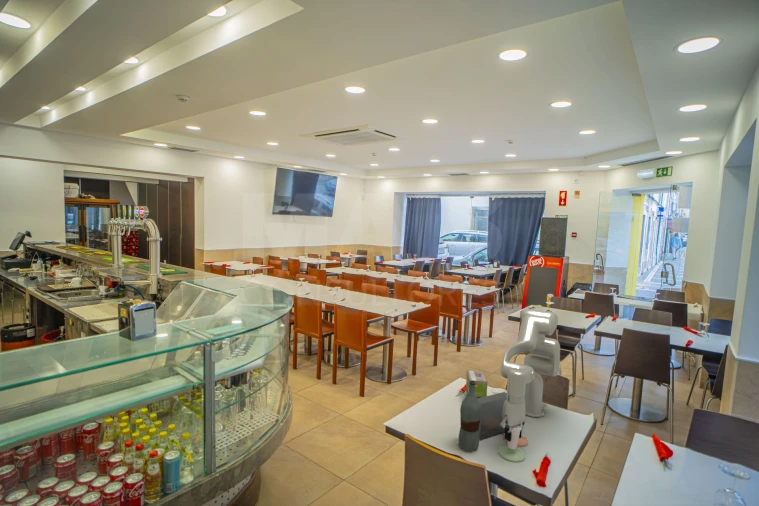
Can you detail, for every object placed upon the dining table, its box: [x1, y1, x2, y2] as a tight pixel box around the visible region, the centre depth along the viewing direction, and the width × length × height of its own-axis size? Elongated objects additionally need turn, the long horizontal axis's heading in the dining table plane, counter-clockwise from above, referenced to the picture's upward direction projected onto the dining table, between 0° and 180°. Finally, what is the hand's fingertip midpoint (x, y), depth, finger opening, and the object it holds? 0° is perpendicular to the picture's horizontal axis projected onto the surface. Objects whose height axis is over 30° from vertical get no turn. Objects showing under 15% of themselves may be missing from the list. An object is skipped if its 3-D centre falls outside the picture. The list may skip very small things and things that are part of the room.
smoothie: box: [507, 424, 521, 449], centre depth 173 cm, size 6×6×14 cm
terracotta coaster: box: [502, 434, 529, 448], centre depth 186 cm, size 11×11×1 cm
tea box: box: [465, 370, 488, 398], centre depth 227 cm, size 15×10×15 cm, turn 174°
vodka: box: [458, 381, 481, 453], centre depth 177 cm, size 9×9×30 cm
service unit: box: [477, 391, 507, 442], centre depth 192 cm, size 22×7×17 cm, turn 120°
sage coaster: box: [498, 445, 526, 463], centre depth 174 cm, size 11×11×1 cm
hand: (512, 437), depth 173 cm, fingers closed on smoothie, 5 cm apart
